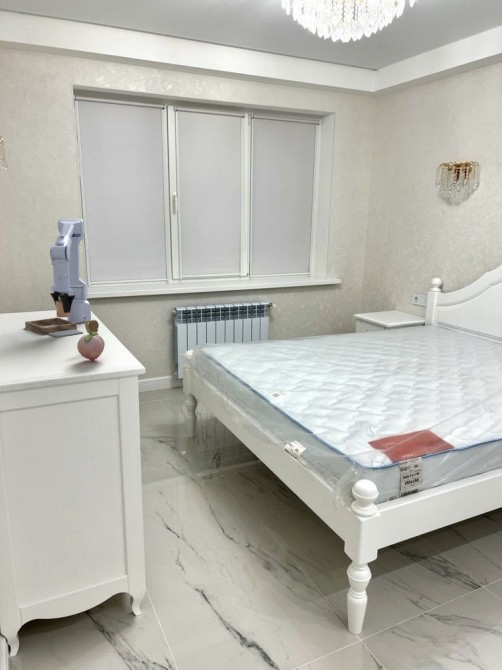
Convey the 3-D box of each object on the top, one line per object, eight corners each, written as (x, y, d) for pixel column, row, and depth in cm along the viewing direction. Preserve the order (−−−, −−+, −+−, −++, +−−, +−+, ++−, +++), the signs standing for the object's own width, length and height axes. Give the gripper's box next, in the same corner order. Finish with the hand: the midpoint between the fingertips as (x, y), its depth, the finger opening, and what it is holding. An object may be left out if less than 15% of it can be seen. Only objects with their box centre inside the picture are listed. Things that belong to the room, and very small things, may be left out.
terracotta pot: (66, 314, 200) (65, 292, 198) (73, 316, 196) (72, 294, 194) (54, 315, 196) (52, 293, 194) (60, 318, 192) (59, 295, 190)
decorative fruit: (82, 356, 167) (80, 327, 165) (107, 356, 168) (105, 328, 166) (74, 365, 158) (72, 334, 156) (100, 365, 159) (99, 334, 157)
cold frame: (58, 323, 216) (57, 317, 215) (76, 329, 205) (76, 323, 205) (25, 327, 206) (25, 321, 205) (43, 334, 195) (42, 328, 195)
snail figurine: (80, 349, 176) (78, 316, 173) (93, 345, 181) (92, 313, 179) (91, 351, 173) (90, 318, 171) (105, 347, 179) (103, 315, 176)
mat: (74, 330, 204) (74, 329, 204) (83, 333, 199) (83, 332, 199) (48, 334, 196) (48, 333, 196) (56, 337, 191) (56, 336, 191)
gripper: (42, 275, 194) (45, 310, 198) (60, 279, 185) (62, 315, 188) (60, 274, 199) (62, 308, 203) (78, 278, 190) (80, 313, 193)
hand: (63, 311), depth 196 cm, fingers closed on terracotta pot, 5 cm apart
